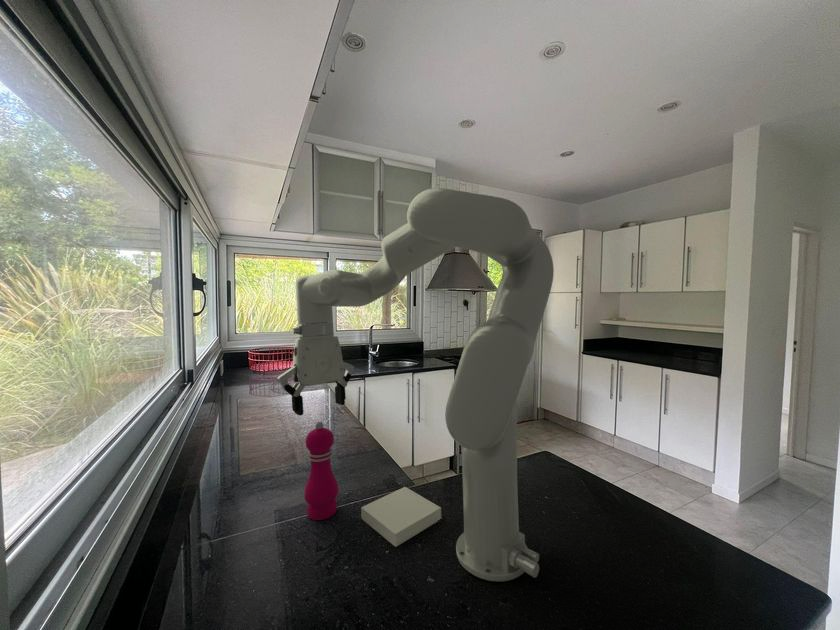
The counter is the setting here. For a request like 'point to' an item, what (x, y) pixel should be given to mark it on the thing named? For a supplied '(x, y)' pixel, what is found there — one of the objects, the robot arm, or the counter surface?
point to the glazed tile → (400, 515)
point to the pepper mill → (320, 475)
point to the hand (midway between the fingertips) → (320, 408)
